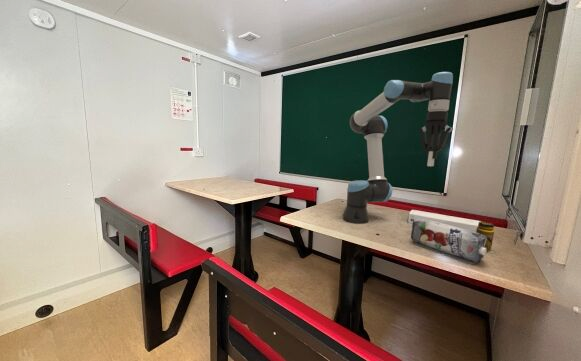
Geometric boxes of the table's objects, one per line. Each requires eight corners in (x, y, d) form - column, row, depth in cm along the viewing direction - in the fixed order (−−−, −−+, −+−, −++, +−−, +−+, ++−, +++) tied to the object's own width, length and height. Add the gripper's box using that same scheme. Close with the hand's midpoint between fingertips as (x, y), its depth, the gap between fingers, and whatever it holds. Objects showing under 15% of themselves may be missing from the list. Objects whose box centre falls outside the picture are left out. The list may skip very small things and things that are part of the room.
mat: (414, 244, 106) (414, 242, 106) (427, 238, 113) (427, 237, 113) (472, 265, 89) (472, 263, 89) (482, 257, 96) (483, 255, 96)
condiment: (494, 253, 100) (499, 226, 98) (471, 249, 103) (475, 223, 101) (487, 246, 106) (492, 221, 105) (465, 243, 109) (469, 219, 108)
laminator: (479, 231, 127) (481, 221, 126) (480, 238, 117) (482, 227, 116) (410, 218, 146) (411, 209, 146) (407, 223, 137) (408, 213, 136)
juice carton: (420, 216, 112) (492, 235, 90) (418, 237, 113) (488, 260, 92) (411, 219, 107) (485, 239, 85) (409, 241, 108) (481, 266, 87)
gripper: (417, 111, 103) (411, 164, 107) (451, 109, 92) (442, 168, 96) (426, 113, 107) (419, 164, 111) (458, 111, 97) (450, 167, 100)
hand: (430, 166), depth 104 cm, fingers closed
